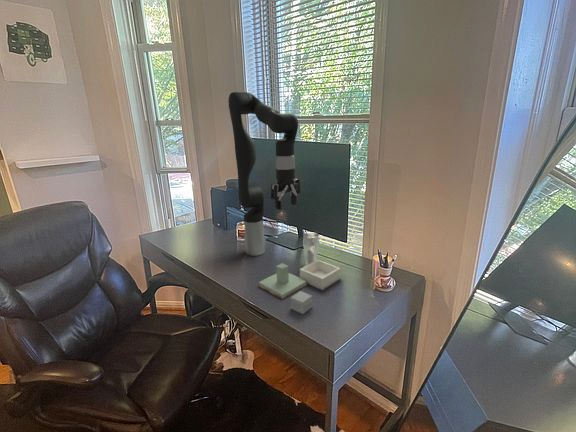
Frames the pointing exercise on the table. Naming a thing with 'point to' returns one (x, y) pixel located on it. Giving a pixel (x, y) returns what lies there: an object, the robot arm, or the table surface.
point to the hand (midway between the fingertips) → (286, 206)
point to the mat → (284, 296)
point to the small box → (301, 302)
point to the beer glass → (310, 247)
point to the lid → (282, 281)
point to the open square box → (320, 274)
